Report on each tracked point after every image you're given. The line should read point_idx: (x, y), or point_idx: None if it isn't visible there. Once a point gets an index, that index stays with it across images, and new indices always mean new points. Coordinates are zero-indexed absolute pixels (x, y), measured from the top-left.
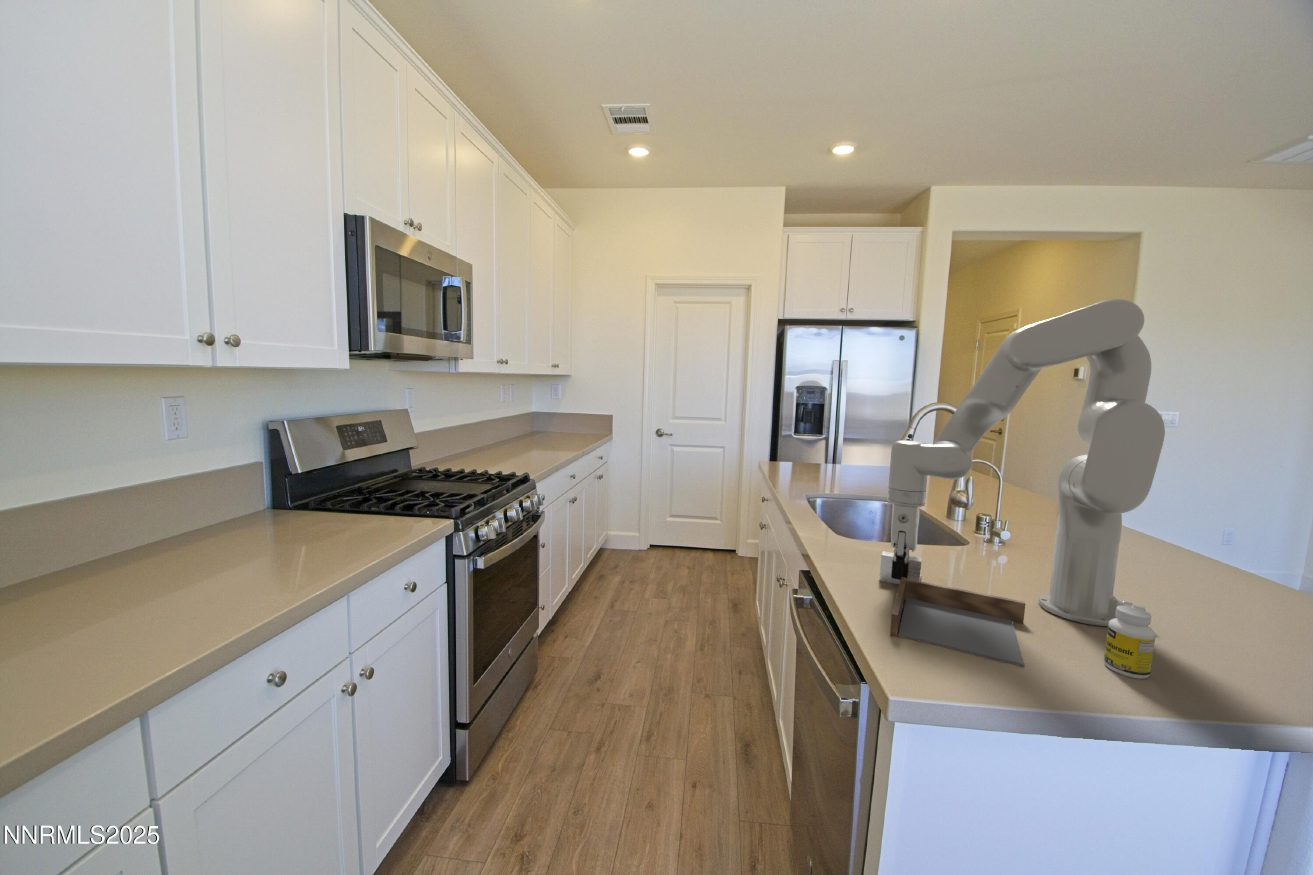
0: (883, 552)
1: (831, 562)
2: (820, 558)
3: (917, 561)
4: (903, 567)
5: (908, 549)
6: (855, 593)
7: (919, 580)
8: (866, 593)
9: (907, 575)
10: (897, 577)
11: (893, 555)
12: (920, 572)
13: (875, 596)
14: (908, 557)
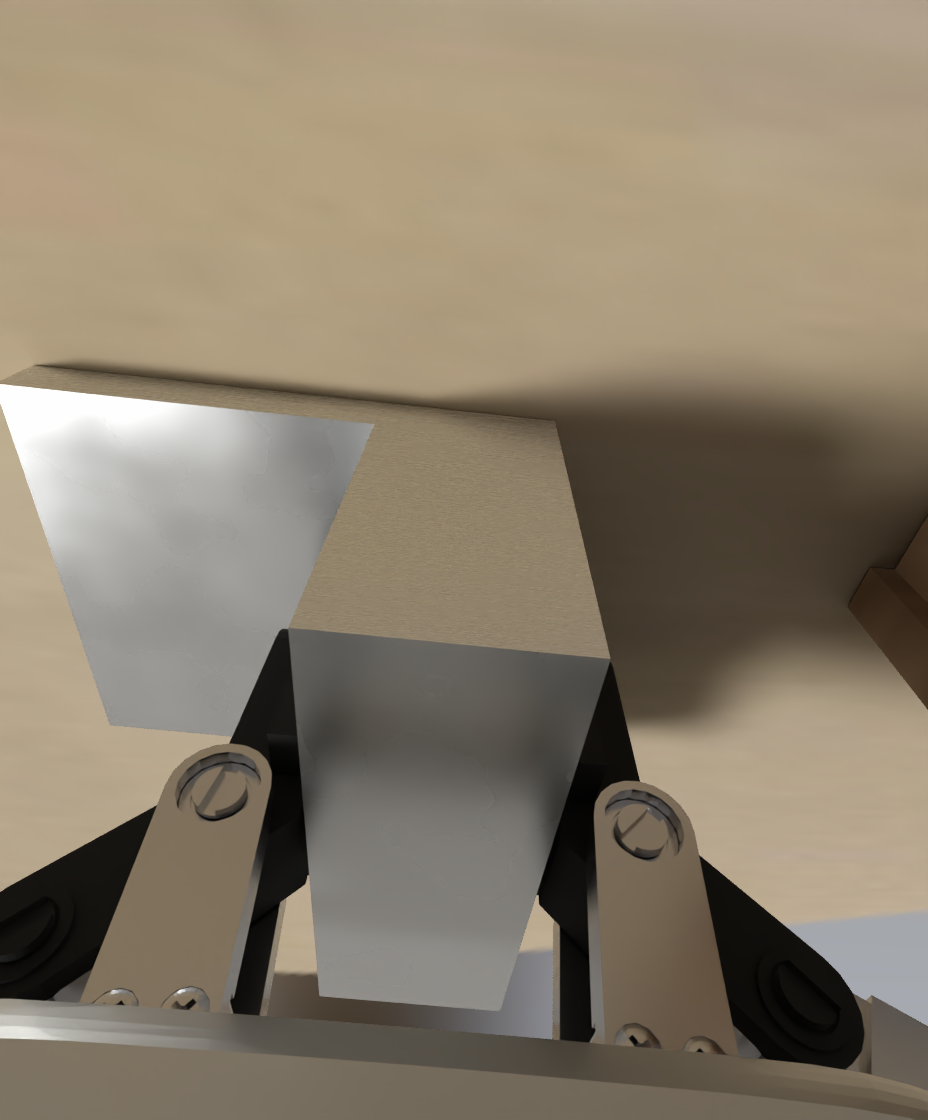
0: (375, 993)
1: (285, 933)
2: None
3: (594, 705)
4: (630, 757)
5: (244, 925)
6: (867, 844)
7: (564, 465)
8: (853, 798)
9: None
10: None
11: (443, 934)
12: (432, 488)
13: (910, 755)
14: (424, 807)
